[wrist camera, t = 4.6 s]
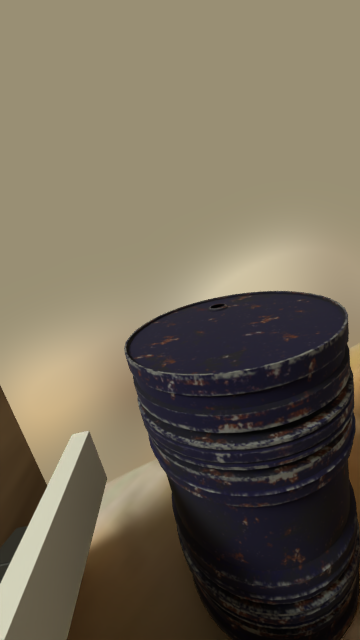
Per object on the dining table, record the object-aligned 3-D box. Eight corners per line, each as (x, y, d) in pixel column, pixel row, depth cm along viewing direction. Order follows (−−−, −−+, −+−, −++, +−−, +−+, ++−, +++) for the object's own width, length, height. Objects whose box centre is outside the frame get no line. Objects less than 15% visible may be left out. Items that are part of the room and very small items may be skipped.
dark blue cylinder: (414, 649, 12) (430, 336, 8) (193, 681, 12) (93, 404, 8) (308, 466, 22) (289, 281, 17) (186, 489, 22) (137, 313, 18)
